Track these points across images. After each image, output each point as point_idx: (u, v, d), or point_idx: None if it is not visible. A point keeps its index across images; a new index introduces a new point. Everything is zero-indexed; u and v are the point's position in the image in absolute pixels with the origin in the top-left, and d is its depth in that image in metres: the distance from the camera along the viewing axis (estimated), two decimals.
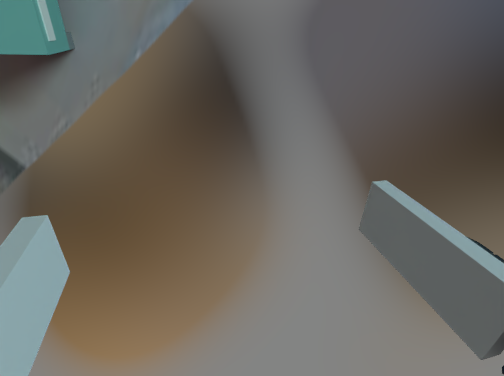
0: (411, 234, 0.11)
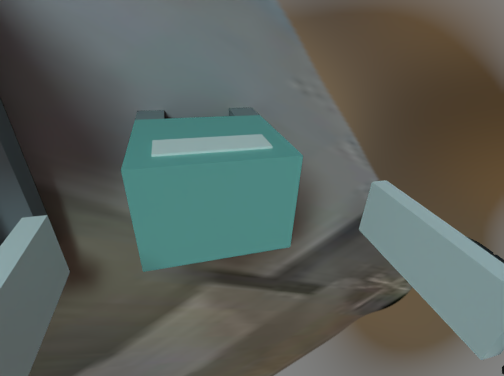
0: (411, 234, 0.11)
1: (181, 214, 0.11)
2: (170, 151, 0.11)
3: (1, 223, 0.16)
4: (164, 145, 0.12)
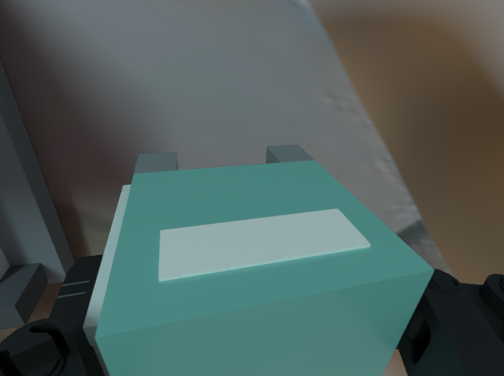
0: None
1: None
2: (193, 266, 0.06)
3: (18, 244, 0.15)
4: (180, 247, 0.06)
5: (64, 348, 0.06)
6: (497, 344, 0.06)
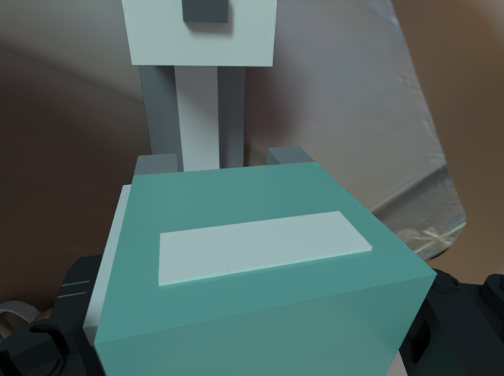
0: None
1: None
2: (194, 270, 0.06)
3: (226, 163, 0.26)
4: (181, 251, 0.06)
5: (64, 348, 0.06)
6: (497, 344, 0.06)
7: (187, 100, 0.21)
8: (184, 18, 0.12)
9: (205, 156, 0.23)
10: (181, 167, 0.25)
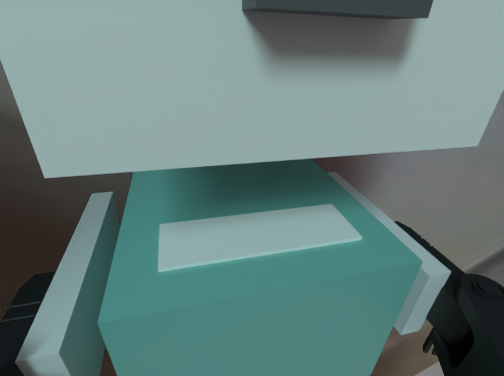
0: None
1: (209, 366, 0.06)
2: (191, 258, 0.06)
3: None
4: (179, 240, 0.07)
5: None
6: None
7: None
8: None
9: None
10: None
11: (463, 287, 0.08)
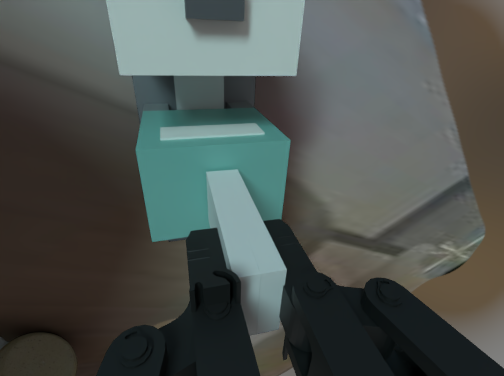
0: None
1: (185, 190, 0.13)
2: (176, 136, 0.13)
3: None
4: (170, 131, 0.13)
5: None
6: (367, 344, 0.06)
7: None
8: (187, 15, 0.09)
9: None
10: None
11: (295, 293, 0.07)
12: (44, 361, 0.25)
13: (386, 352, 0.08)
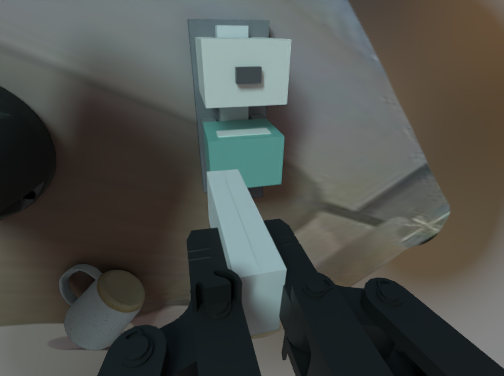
0: None
1: (230, 163, 0.26)
2: (225, 135, 0.25)
3: None
4: (222, 133, 0.26)
5: None
6: (366, 344, 0.06)
7: None
8: (237, 83, 0.22)
9: None
10: None
11: (294, 293, 0.07)
12: (126, 286, 0.38)
13: (386, 352, 0.08)
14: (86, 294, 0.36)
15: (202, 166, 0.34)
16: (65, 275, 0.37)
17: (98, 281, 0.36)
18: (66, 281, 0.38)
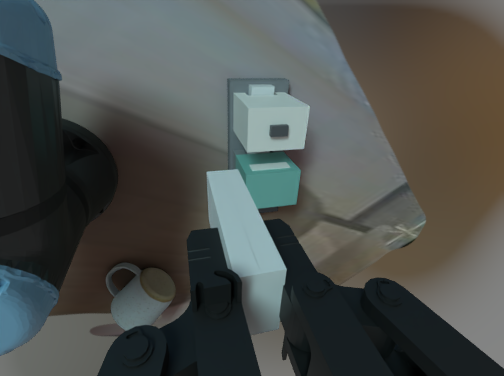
0: None
1: (260, 189, 0.35)
2: (257, 169, 0.34)
3: None
4: (254, 167, 0.35)
5: None
6: (366, 344, 0.06)
7: None
8: (271, 136, 0.31)
9: None
10: None
11: (294, 293, 0.07)
12: (161, 281, 0.46)
13: (386, 352, 0.08)
14: (130, 287, 0.44)
15: None
16: (111, 272, 0.45)
17: (140, 276, 0.44)
18: (110, 277, 0.46)
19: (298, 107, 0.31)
